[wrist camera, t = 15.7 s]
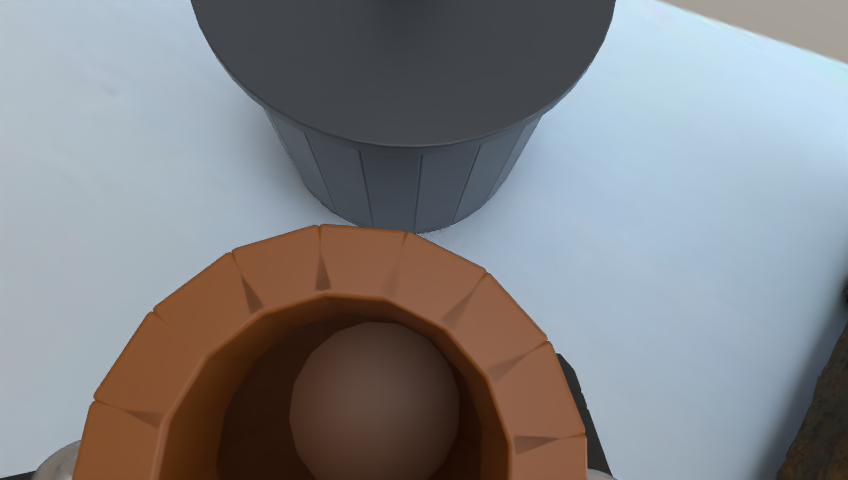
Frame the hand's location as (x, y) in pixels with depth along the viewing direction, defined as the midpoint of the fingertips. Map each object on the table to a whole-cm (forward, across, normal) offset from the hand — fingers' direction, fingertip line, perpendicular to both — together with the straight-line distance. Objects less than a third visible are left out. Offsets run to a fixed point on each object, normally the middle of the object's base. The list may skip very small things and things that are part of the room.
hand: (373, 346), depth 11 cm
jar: (+2, 0, +4) cm, 5 cm away
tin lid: (+7, 0, -8) cm, 10 cm away
